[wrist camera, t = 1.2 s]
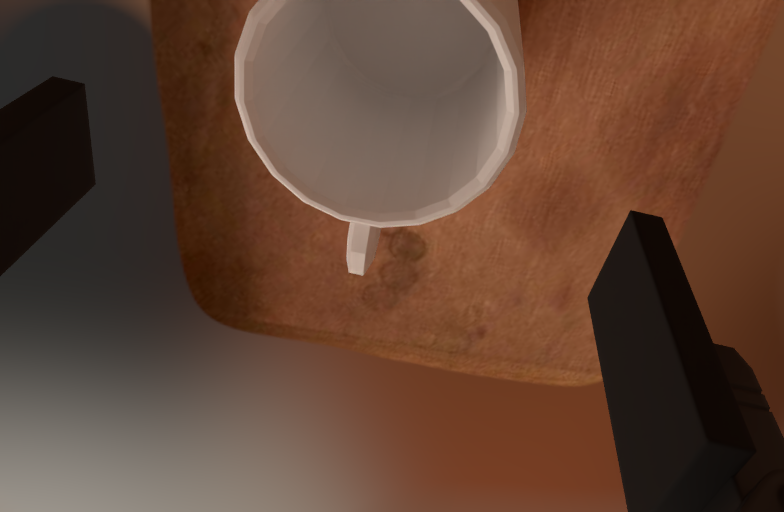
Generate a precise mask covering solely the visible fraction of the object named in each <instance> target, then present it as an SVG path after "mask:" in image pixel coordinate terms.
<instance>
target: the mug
mask: <svg viewBox="0 0 784 512" xmlns="http://www.w3.org/2000/svg"><path fill="white" fill-rule="evenodd" d="M235 101H236V104H237V107H238V110H239V113H240V116H241V119H242V122H243V126H244V129H245V132H246V135H247V138H248V140H249V142H250V143H251V145H252V146H253V148H254V149H255V151H256V152H257V154H258V155H259V157H260V158H261V160H262V161H263V162H264V164H265V165H266V167H267V168H268V170H269V171H270V173H271V174H272V175H273V176H274V177H275V178H276V179H277V180H279V181H280V182H281V183H282V184H283V185H284V186H286V187H287V188H288V189H289V190H290V191H291V192H292V193H294V194H295V195H296V196H297V197H298V198H299V199H301V200H302V201H303V202H305V203H307V204H309V205H311V206H313V207H315V208H317V209H319V210H321V211H323V212H325V213H327V214H329V215H331V216H333V217H336V218H338V219H340V220H344V221H349V222H350V226H349V232H348V241H347V257H346V259H347V264H348V270H349V273H353V274H358V275H364V273H365V272H366V271H367V269H368V268H369V266H370V265H371V263H372V261H373V260H374V258H375V254H376V249H377V245H378V240H379V236H380V231H381V228H383V227H398V226H412V225H421V224H424V223H427V222H430V221H432V220H435V219H438V218H441V217H444V216H446V215H449V214H452V213H455V212H458V211H459V210H460V209H462V208H463V207H464V206H466V205H467V204H468V203H470V202H471V201H472V200H474V199H475V198H476V197H478V196H479V195H480V194H482V193H483V192H484V191H486V190H487V189H488V188H490V187H491V185H492V184H493V182H494V181H495V180H496V178H497V177H498V175H499V174H500V173H501V171H502V170H503V168H504V167H505V166H506V164H507V163H508V161H509V160H510V158H511V157H512V156H513V154H514V152H515V149H516V146H517V142H518V139H519V135H520V132H521V129H522V125H523V122H524V119H525V115H526V112H527V109H526V88H525V66H524V56H523V46H522V36H521V26H520V16H519V7H518V0H259V1H258V2H257V3H256V4H255V5H254V7H253V8H252V9H251V10H250V12H249V14H248V17H247V20H246V23H245V26H244V29H243V32H242V35H241V37H240V40H239V43H238V46H237V49H236V52H235Z"/></svg>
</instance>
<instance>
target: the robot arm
mask: <svg viewBox="0 0 784 512" xmlns="http://www.w3.org/2000/svg"><path fill="white" fill-rule="evenodd" d="M95 184H96V183H95V174H94V166H93V157H92V147H91V138H90V129H89V119H88V111H87V101H86V92H85V84H82V83H79V82H75V81H70V80H66V79H62V78H57V77H51V78H49V79H48V80H46V81H45V82H43V83H41V84H40V85H38V86H36V87H35V88H33V89H32V90H30V91H28V92H27V93H25V94H24V95H22V96H20V97H19V98H17V99H16V100H14V101H12V102H11V103H9V104H8V105H6V106H4V107H3V108H1V109H0V276H1V275H2V274H3V273H4V272H5V271H6V270H7V269H8V268H9V267H10V266H11V265H12V264H13V263H14V262H16V261H17V260H18V259H19V257H21V256H22V255H23V254H24V253H25V252H26V251H27V250H28V249H29V248H30V247H31V246H32V245H33V244H34V243H35V242H36V241H37V240H38V239H39V238H40V237H41V236H42V235H43V234H45V233H46V232H47V231H48V229H50V228H51V227H52V226H53V225H54V224H55V223H56V222H57V221H58V220H59V219H60V218H61V217H62V216H63V215H64V214H65V213H66V212H67V211H68V210H69V209H70V208H71V207H72V206H73V205H75V204H76V202H77V201H79V200H80V199H81V198H82V197H83V196H84V195H85V194H86V193H87V192H88V191H89V190H90V189H91V188H92V187H93V186H94V185H95ZM588 303H589V308H590V314H591V319H592V324H593V329H594V335H595V340H596V345H597V350H598V356H599V361H600V366H601V372H602V377H603V382H604V387H605V392H606V398H607V403H608V409H609V414H610V419H611V424H612V430H613V435H614V440H615V445H616V451H617V456H618V461H619V467H620V472H621V477H622V483H623V488H624V493H625V498H626V504H627V509H628V512H784V438H783V436H782V434H781V431H780V429H779V427H778V425H777V422H776V420H775V418H774V416H773V414H772V412H769V409H770V407H769V405H768V403H767V401H766V399H765V396H764V395H763V394H761V391H762V389H761V387H760V385H759V383H758V381H757V379H756V376H755V374H754V372H753V370H752V368H751V367H750V366H749V365H748V364H747V363H746V361H745V360H744V359H743V358H742V357H741V356H740V355H739V354H738V352H737V351H736V350H735V349H734V348H731V347H727V346H723V345H718V344H714V343H713V342H712V339H711V337H710V334H709V332H708V329H707V327H706V325H705V322H704V319H703V317H702V315H701V312H700V310H699V307H698V305H697V302H696V300H695V297H694V295H693V292H692V290H691V287H690V285H689V282H688V280H687V278H686V275H685V272H684V270H683V267H682V265H681V263H680V260H679V258H678V255H677V253H676V250H675V248H674V245H673V243H672V240H671V238H670V235H669V233H668V230H667V228H666V225H665V223H664V221H663V218H662V217H658V216H653V215H649V214H645V213H640V212H636V211H632V210H630V212H629V214H628V217H627V219H626V221H625V223H624V225H623V227H622V229H621V231H620V233H619V235H618V237H617V239H616V241H615V243H614V245H613V247H612V249H611V251H610V253H609V255H608V257H607V259H606V261H605V263H604V265H603V267H602V269H601V271H600V273H599V275H598V277H597V279H596V281H595V283H594V285H593V287H592V289H591V292H590V294H589V296H588Z"/></svg>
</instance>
